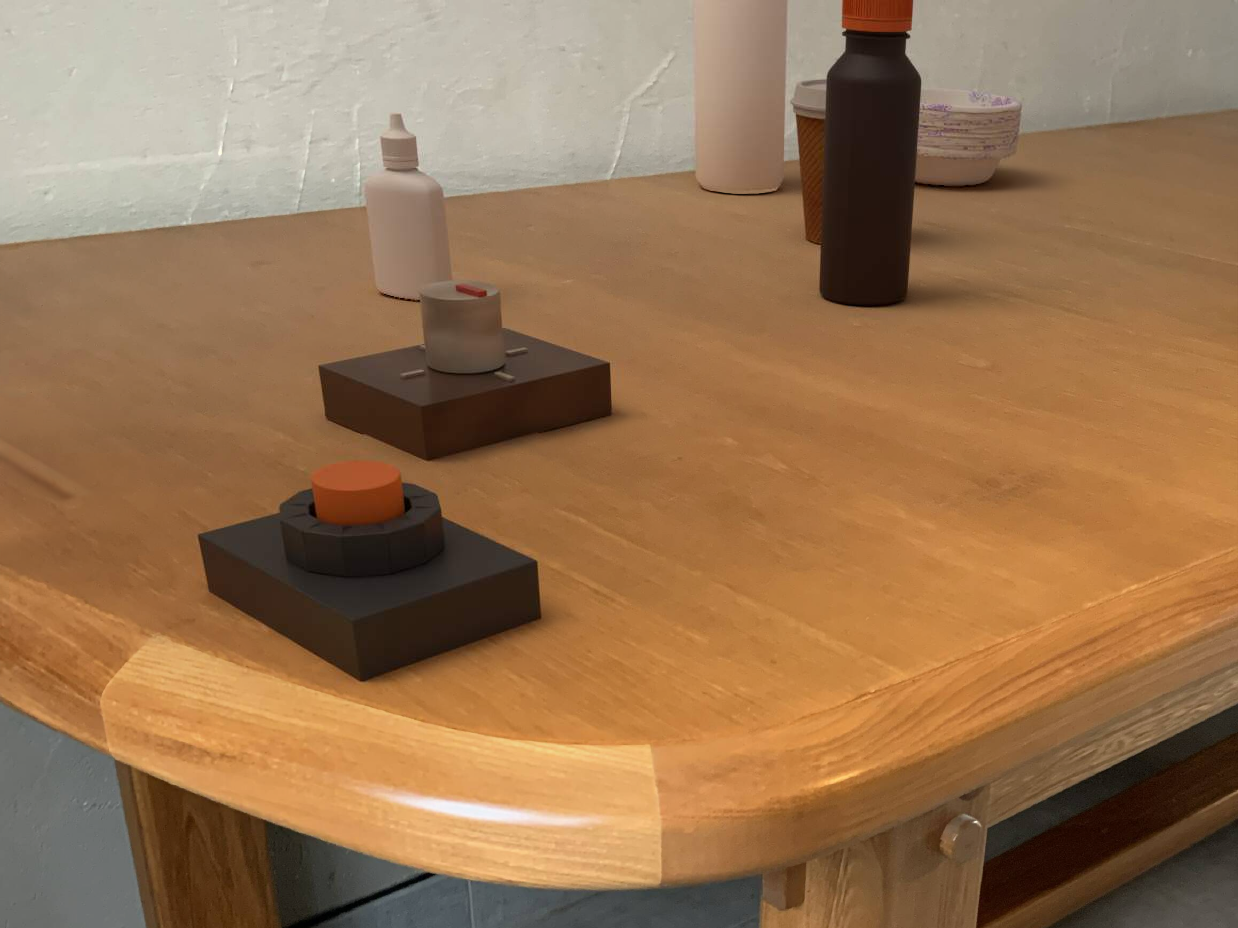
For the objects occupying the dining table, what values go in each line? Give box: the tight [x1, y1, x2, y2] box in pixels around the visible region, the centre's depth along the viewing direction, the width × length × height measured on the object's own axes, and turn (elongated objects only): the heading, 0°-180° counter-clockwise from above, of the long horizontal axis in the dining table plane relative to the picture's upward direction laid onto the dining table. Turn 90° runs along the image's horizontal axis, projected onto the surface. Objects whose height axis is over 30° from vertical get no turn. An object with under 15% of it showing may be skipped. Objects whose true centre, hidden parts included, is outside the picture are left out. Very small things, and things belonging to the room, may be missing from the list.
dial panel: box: [318, 327, 613, 462], centre depth 87 cm, size 13×10×3 cm
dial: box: [419, 280, 505, 374], centre depth 85 cm, size 4×4×4 cm
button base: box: [197, 482, 542, 683], centre depth 65 cm, size 9×12×4 cm
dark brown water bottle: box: [818, 0, 922, 306], centre depth 110 cm, size 7×7×20 cm
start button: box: [310, 460, 405, 525], centre depth 63 cm, size 4×4×2 cm
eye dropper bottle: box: [364, 112, 453, 301], centre depth 108 cm, size 4×6×12 cm
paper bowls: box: [915, 87, 1023, 187], centre depth 157 cm, size 15×15×8 cm
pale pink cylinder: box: [693, 0, 788, 191], centre depth 143 cm, size 9×9×30 cm
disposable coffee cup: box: [789, 78, 827, 245], centre depth 129 cm, size 10×10×12 cm
